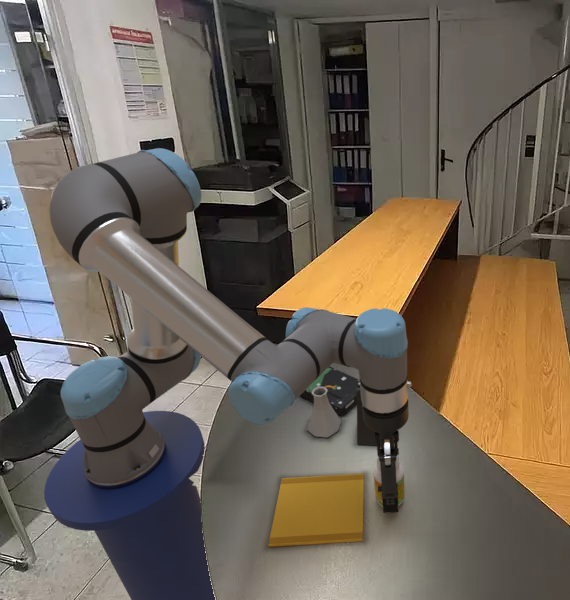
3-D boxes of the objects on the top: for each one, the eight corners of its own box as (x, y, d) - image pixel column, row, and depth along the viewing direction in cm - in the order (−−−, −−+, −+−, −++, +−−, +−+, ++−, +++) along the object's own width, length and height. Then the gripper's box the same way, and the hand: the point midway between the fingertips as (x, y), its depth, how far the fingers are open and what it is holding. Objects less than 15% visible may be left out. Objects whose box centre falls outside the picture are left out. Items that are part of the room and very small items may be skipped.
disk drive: (370, 392, 116) (323, 371, 124) (369, 383, 115) (322, 362, 122) (342, 418, 109) (295, 394, 116) (341, 408, 108) (293, 385, 115)
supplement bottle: (402, 511, 87) (400, 473, 82) (372, 507, 87) (369, 470, 83) (406, 486, 91) (405, 449, 86) (379, 483, 92) (376, 446, 87)
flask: (320, 411, 111) (315, 376, 106) (347, 420, 108) (343, 385, 103) (301, 432, 105) (295, 397, 100) (329, 442, 102) (324, 406, 98)
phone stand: (385, 446, 101) (382, 402, 95) (357, 444, 102) (352, 401, 96) (390, 416, 109) (388, 374, 103) (364, 415, 109) (360, 373, 103)
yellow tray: (268, 547, 82) (268, 545, 82) (282, 479, 94) (281, 477, 94) (362, 541, 83) (362, 539, 82) (364, 475, 95) (364, 473, 94)
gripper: (412, 441, 70) (414, 541, 81) (405, 363, 86) (407, 456, 97) (360, 444, 70) (369, 543, 81) (362, 365, 86) (370, 458, 97)
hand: (390, 495), depth 89 cm, fingers closed on supplement bottle, 5 cm apart
